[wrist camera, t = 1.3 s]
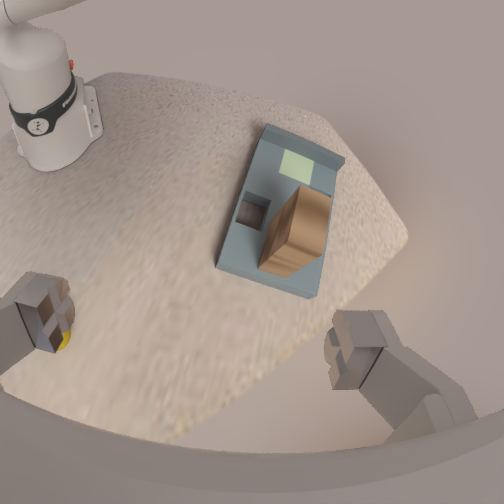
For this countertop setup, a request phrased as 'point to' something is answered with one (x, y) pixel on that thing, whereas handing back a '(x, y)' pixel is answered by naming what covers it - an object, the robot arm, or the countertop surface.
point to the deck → (278, 205)
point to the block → (296, 233)
